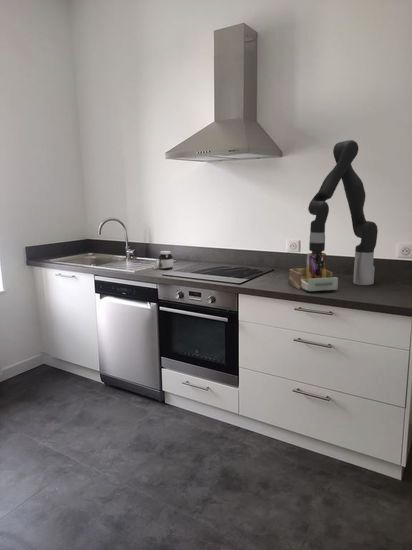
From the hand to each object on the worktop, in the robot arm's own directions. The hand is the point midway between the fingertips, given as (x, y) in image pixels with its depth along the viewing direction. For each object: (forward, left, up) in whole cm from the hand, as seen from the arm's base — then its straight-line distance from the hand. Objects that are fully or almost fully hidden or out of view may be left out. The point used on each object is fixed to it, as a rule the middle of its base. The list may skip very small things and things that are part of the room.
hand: (315, 274), depth 209 cm
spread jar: (+73, -73, -7) cm, 103 cm away
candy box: (0, 0, -4) cm, 4 cm away
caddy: (0, -7, -7) cm, 10 cm away
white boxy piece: (0, +3, -6) cm, 7 cm away
